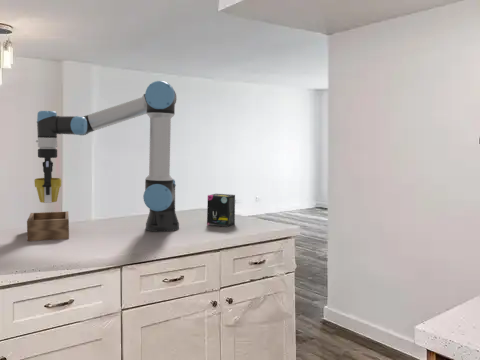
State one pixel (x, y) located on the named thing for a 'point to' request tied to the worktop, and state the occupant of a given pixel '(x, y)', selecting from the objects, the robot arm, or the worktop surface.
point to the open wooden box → (48, 226)
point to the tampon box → (221, 210)
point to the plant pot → (54, 188)
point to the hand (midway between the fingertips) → (48, 201)
